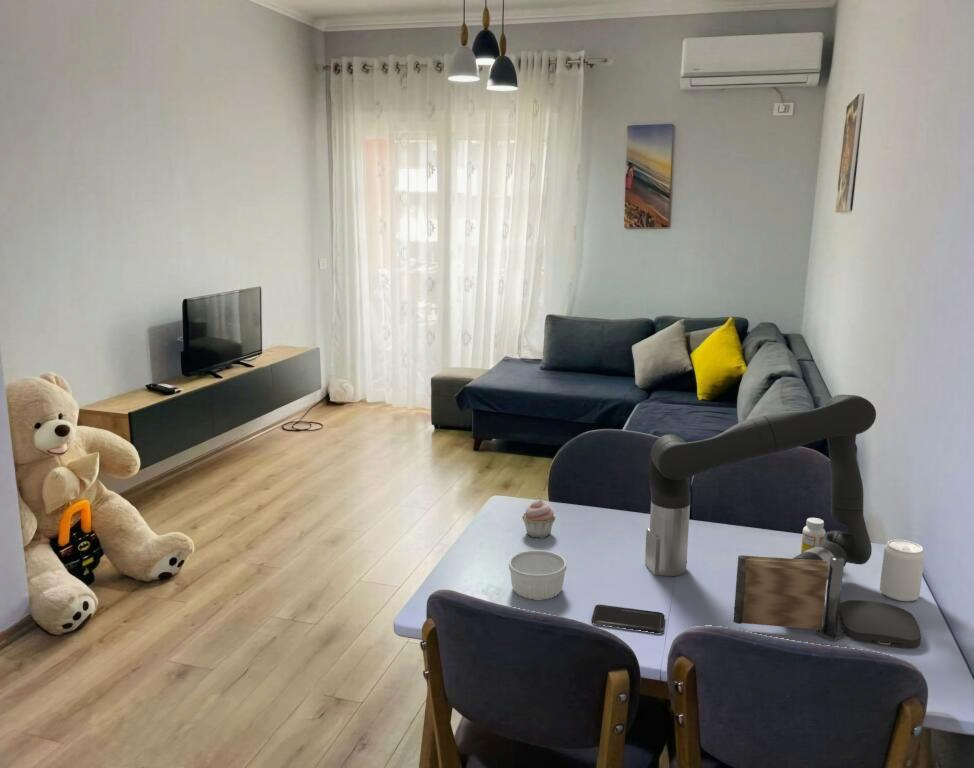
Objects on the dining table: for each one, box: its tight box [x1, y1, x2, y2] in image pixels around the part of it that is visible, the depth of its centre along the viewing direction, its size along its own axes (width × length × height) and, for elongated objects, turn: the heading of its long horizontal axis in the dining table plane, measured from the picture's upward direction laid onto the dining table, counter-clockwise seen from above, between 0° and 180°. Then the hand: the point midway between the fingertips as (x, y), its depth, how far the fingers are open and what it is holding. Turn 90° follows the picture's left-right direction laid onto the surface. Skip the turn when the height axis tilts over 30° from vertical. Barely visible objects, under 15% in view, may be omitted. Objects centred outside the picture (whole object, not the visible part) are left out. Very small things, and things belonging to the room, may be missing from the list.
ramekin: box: [508, 549, 567, 601], centre depth 180 cm, size 13×13×7 cm
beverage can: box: [879, 539, 926, 602], centre depth 177 cm, size 8×8×12 cm
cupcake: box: [521, 498, 557, 538], centre depth 211 cm, size 9×9×10 cm
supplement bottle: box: [800, 517, 827, 554], centre depth 197 cm, size 5×5×10 cm
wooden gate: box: [732, 554, 829, 630], centre depth 161 cm, size 18×2×14 cm, turn 81°
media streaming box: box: [838, 599, 922, 650], centre depth 164 cm, size 15×15×3 cm
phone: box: [590, 604, 666, 634], centre depth 168 cm, size 8×1×15 cm
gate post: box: [814, 556, 845, 643], centre depth 167 cm, size 22×6×17 cm, turn 40°
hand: (771, 592), depth 163 cm, fingers closed
